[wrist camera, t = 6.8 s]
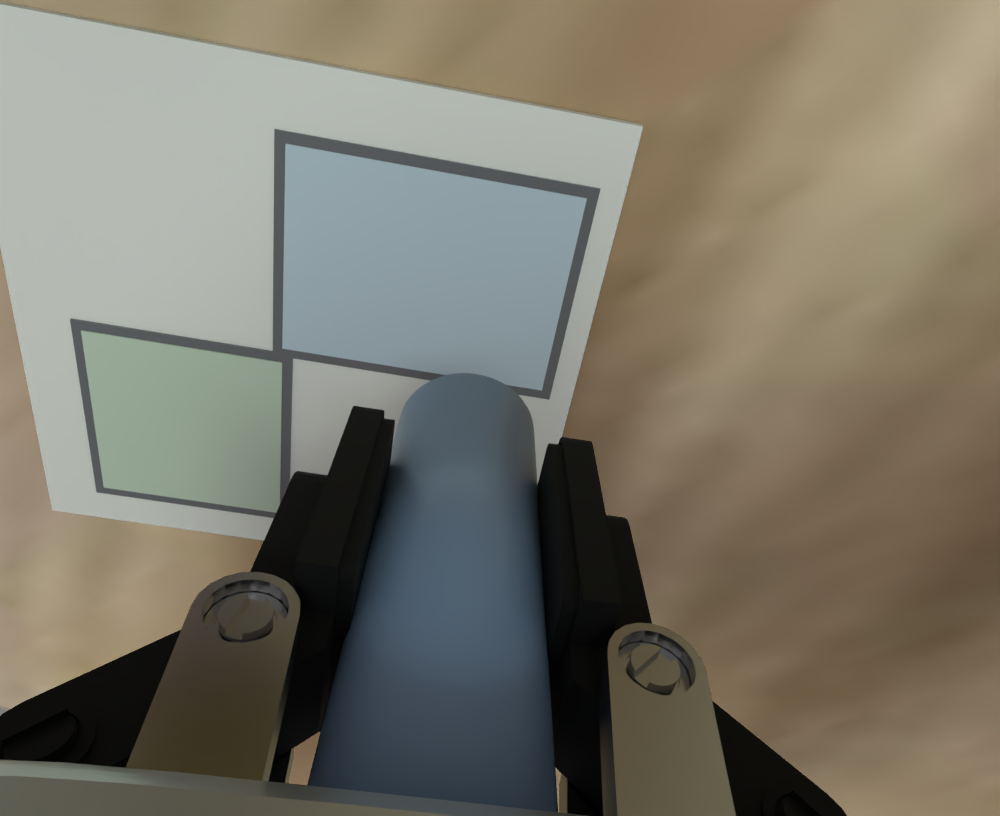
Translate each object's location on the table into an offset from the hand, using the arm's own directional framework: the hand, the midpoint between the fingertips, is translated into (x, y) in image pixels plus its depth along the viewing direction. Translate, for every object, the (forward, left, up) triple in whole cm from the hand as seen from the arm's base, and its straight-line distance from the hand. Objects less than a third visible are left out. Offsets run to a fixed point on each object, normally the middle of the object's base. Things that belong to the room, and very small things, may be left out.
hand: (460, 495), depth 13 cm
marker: (0, 0, -2) cm, 2 cm away
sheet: (+5, +3, -10) cm, 11 cm away
